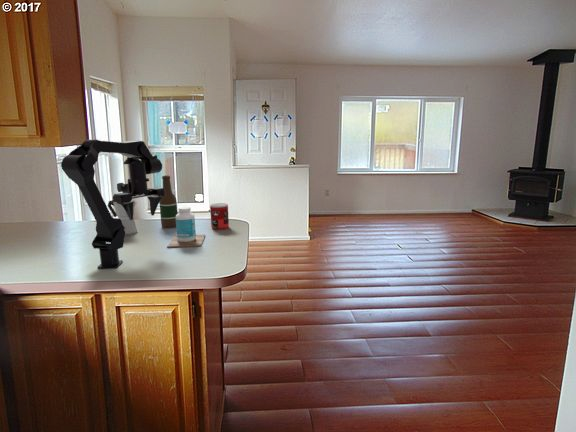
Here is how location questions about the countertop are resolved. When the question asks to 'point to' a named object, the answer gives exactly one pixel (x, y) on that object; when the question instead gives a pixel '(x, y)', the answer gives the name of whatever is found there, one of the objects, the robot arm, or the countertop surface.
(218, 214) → the canned food
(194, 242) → the walnut board
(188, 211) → the pill bottle
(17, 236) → the countertop surface
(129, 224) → the coffee maker
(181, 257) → the countertop surface
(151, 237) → the countertop surface
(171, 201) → the beer bottle
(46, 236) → the countertop surface
